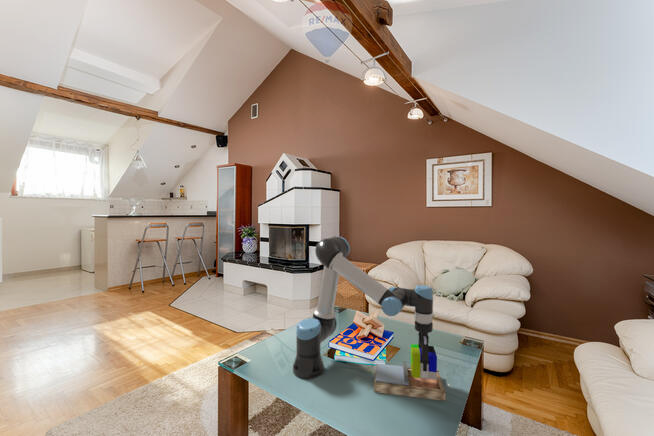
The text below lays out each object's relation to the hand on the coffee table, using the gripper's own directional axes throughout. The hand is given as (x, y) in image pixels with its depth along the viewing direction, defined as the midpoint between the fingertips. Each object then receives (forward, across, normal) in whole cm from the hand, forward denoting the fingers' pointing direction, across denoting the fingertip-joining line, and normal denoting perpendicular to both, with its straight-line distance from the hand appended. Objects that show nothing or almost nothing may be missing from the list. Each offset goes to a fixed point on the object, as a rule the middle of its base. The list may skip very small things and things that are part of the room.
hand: (423, 370), depth 133 cm
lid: (+3, 0, +14) cm, 14 cm away
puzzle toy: (+1, 0, 0) cm, 1 cm away
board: (+7, 0, +7) cm, 9 cm away
